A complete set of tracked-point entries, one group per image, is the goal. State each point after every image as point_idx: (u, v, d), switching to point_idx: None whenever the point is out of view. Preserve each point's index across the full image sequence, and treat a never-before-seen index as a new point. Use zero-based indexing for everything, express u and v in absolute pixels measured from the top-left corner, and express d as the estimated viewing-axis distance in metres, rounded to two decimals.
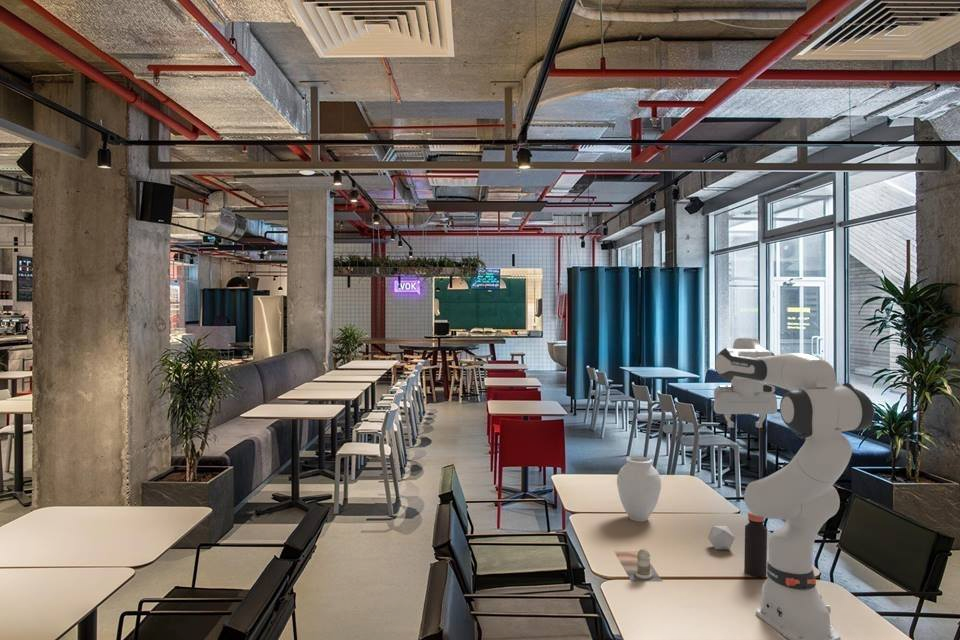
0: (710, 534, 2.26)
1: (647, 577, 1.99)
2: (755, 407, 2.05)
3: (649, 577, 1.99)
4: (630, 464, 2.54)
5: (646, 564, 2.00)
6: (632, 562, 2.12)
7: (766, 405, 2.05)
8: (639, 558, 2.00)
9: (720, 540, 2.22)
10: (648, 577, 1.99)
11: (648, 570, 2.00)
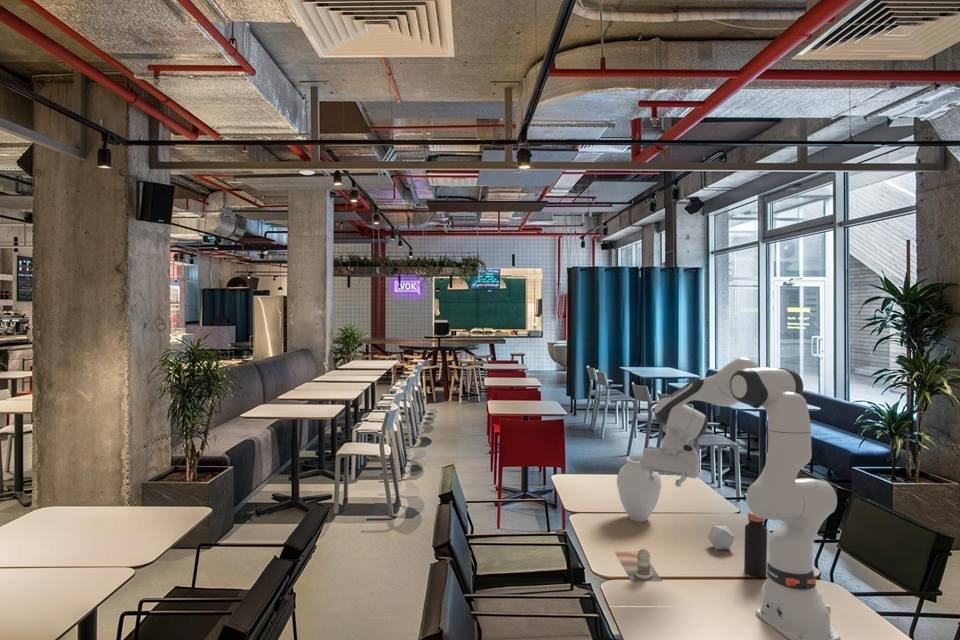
0: (710, 534, 2.26)
1: (647, 577, 1.99)
2: (675, 464, 2.16)
3: (649, 577, 1.99)
4: (630, 464, 2.54)
5: (646, 564, 2.00)
6: (632, 562, 2.12)
7: (686, 464, 2.14)
8: (639, 558, 2.00)
9: (720, 540, 2.22)
10: (648, 577, 1.99)
11: (648, 570, 2.00)
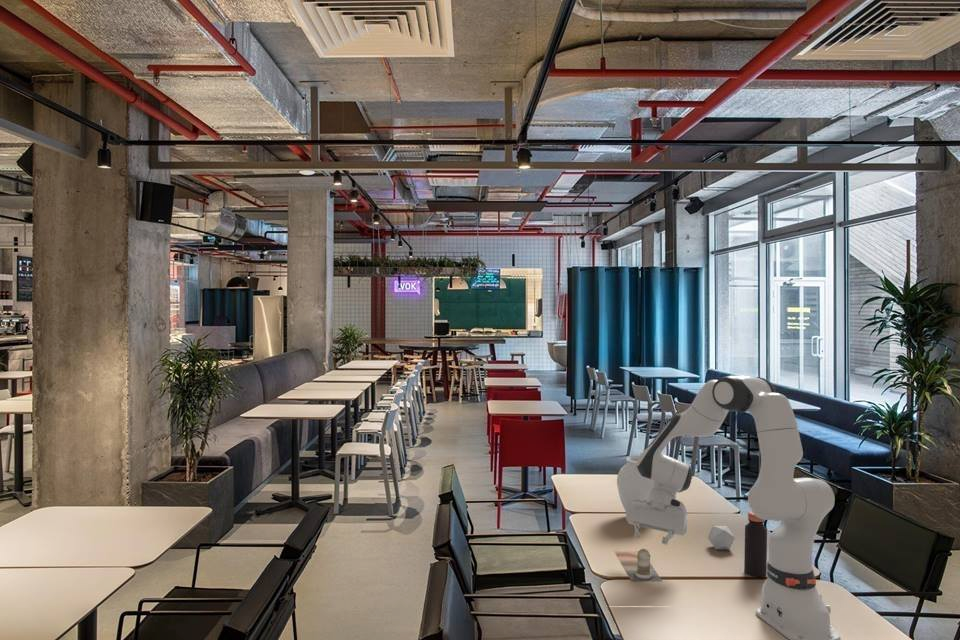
0: (710, 534, 2.26)
1: (647, 577, 1.99)
2: (662, 520, 2.08)
3: (649, 577, 1.99)
4: (630, 464, 2.54)
5: (646, 564, 2.00)
6: (632, 562, 2.12)
7: (673, 520, 2.06)
8: (639, 558, 2.00)
9: (720, 540, 2.22)
10: (648, 577, 1.99)
11: (648, 570, 2.00)
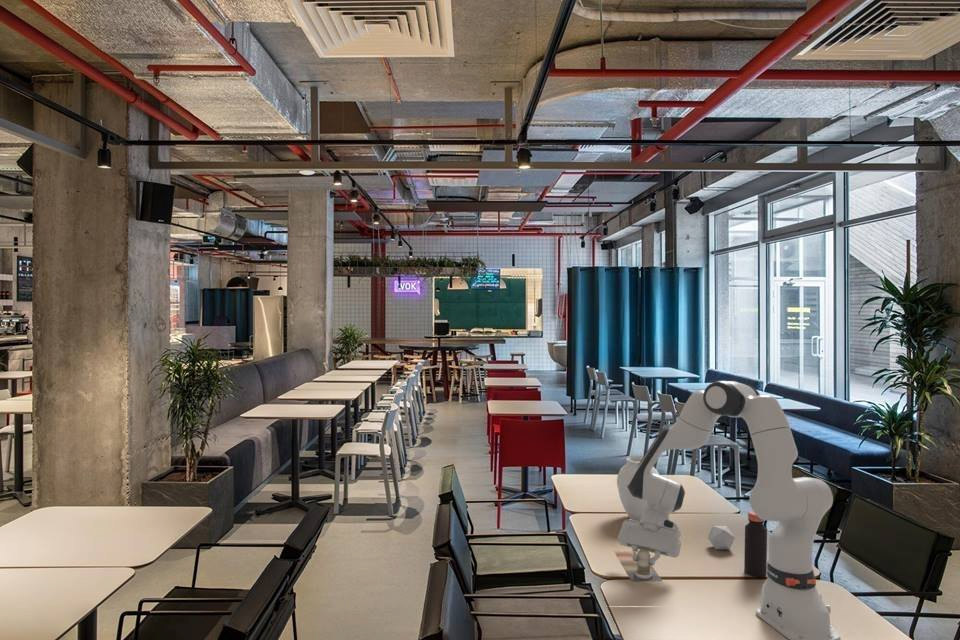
0: (710, 534, 2.26)
1: (647, 577, 1.99)
2: (655, 541, 2.02)
3: (649, 577, 1.99)
4: (630, 464, 2.54)
5: (646, 564, 2.00)
6: (632, 562, 2.12)
7: (666, 542, 2.01)
8: (639, 558, 2.00)
9: (720, 540, 2.22)
10: (648, 577, 1.99)
11: (648, 570, 2.00)
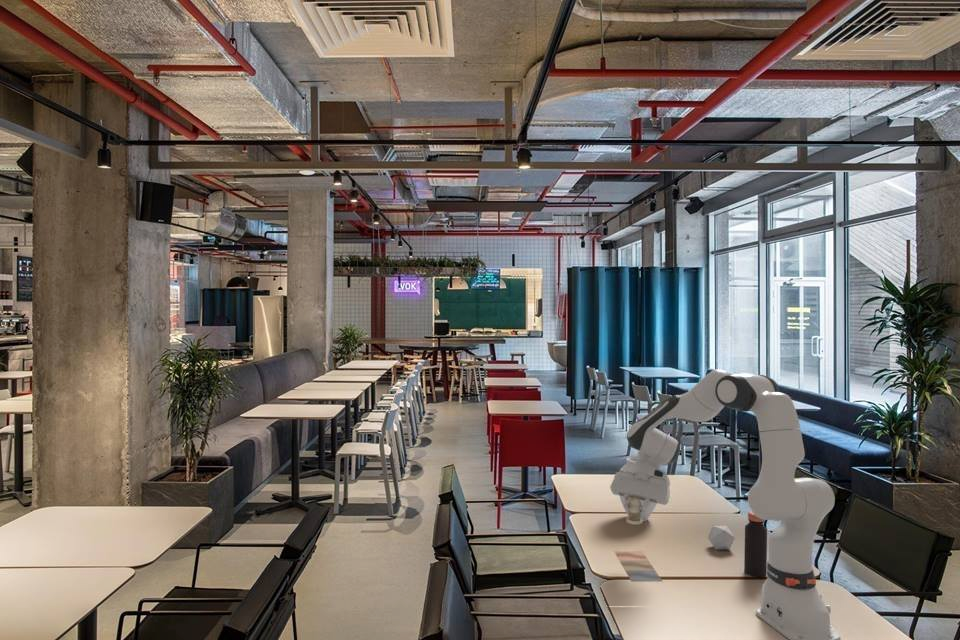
0: (710, 534, 2.26)
1: (638, 523, 2.09)
2: (646, 490, 2.13)
3: (639, 523, 2.10)
4: (630, 464, 2.54)
5: (637, 510, 2.10)
6: (632, 562, 2.12)
7: (656, 490, 2.11)
8: (630, 505, 2.11)
9: (720, 540, 2.22)
10: (638, 523, 2.10)
11: (639, 516, 2.11)
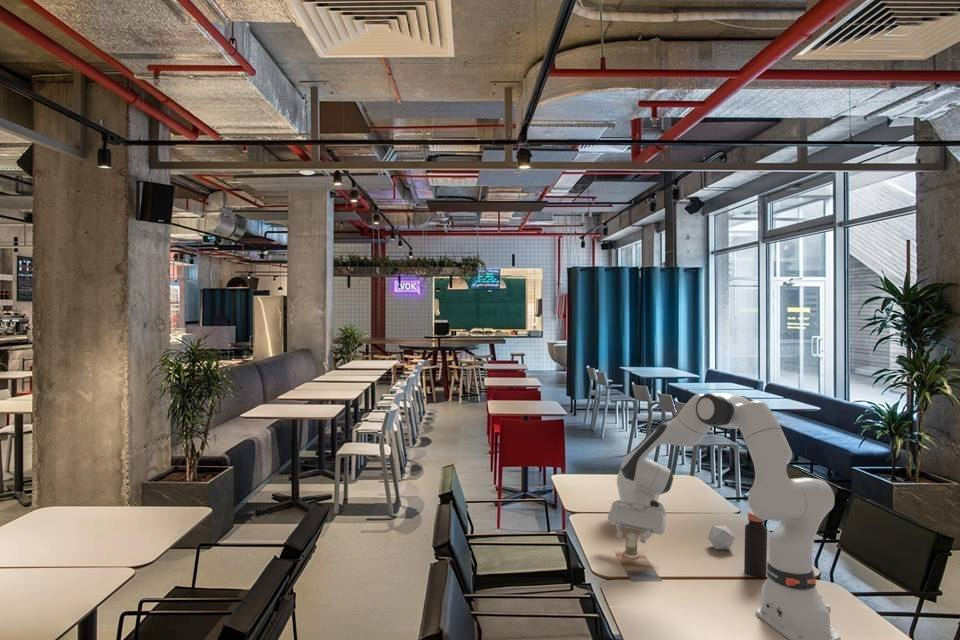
0: (710, 534, 2.26)
1: (634, 557, 2.15)
2: (642, 520, 2.18)
3: (636, 557, 2.15)
4: None
5: (634, 544, 2.16)
6: (632, 562, 2.12)
7: (652, 520, 2.17)
8: (627, 539, 2.16)
9: (720, 540, 2.22)
10: (635, 557, 2.15)
11: (635, 550, 2.16)
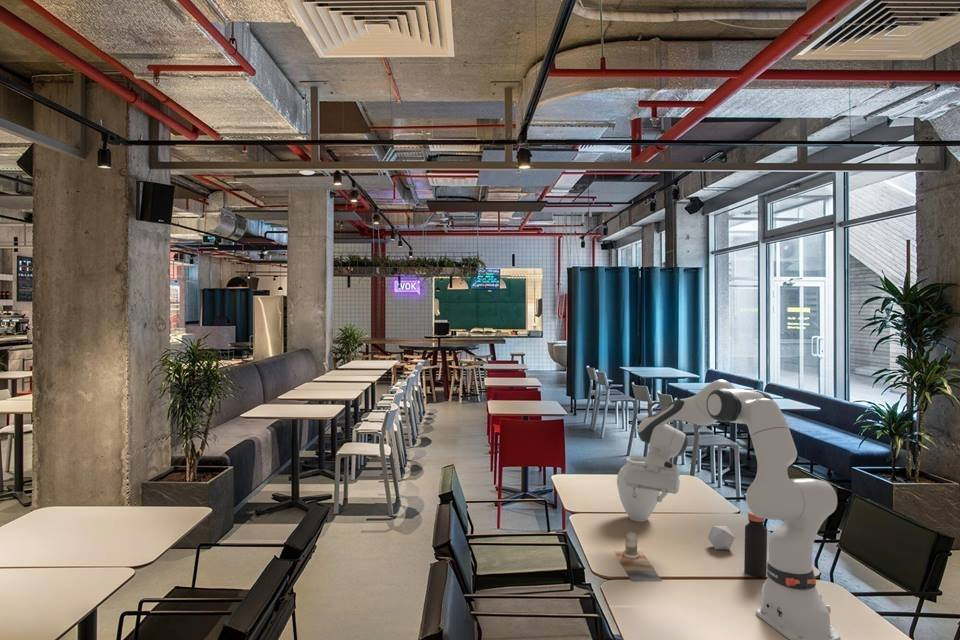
0: (710, 534, 2.26)
1: (634, 557, 2.15)
2: (657, 480, 2.28)
3: (636, 557, 2.15)
4: (630, 464, 2.54)
5: (634, 544, 2.16)
6: (632, 562, 2.12)
7: (666, 480, 2.26)
8: (627, 539, 2.16)
9: (720, 540, 2.22)
10: (635, 557, 2.15)
11: (635, 550, 2.16)
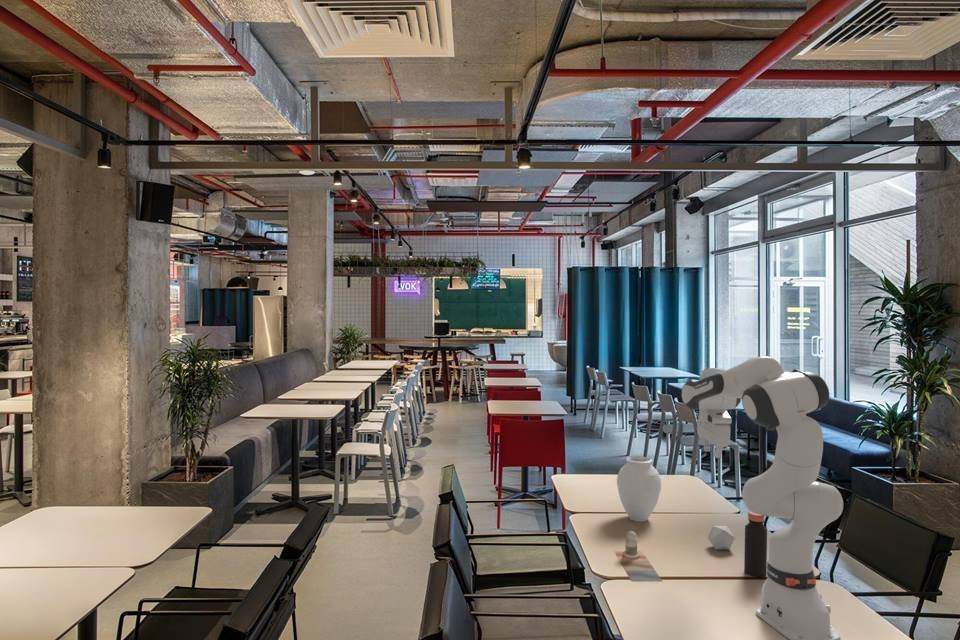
0: (710, 534, 2.26)
1: (634, 557, 2.15)
2: (710, 435, 2.11)
3: (636, 557, 2.15)
4: (630, 464, 2.54)
5: (634, 544, 2.16)
6: (632, 562, 2.12)
7: (714, 436, 2.08)
8: (627, 539, 2.16)
9: (720, 540, 2.22)
10: (635, 557, 2.15)
11: (635, 550, 2.16)
